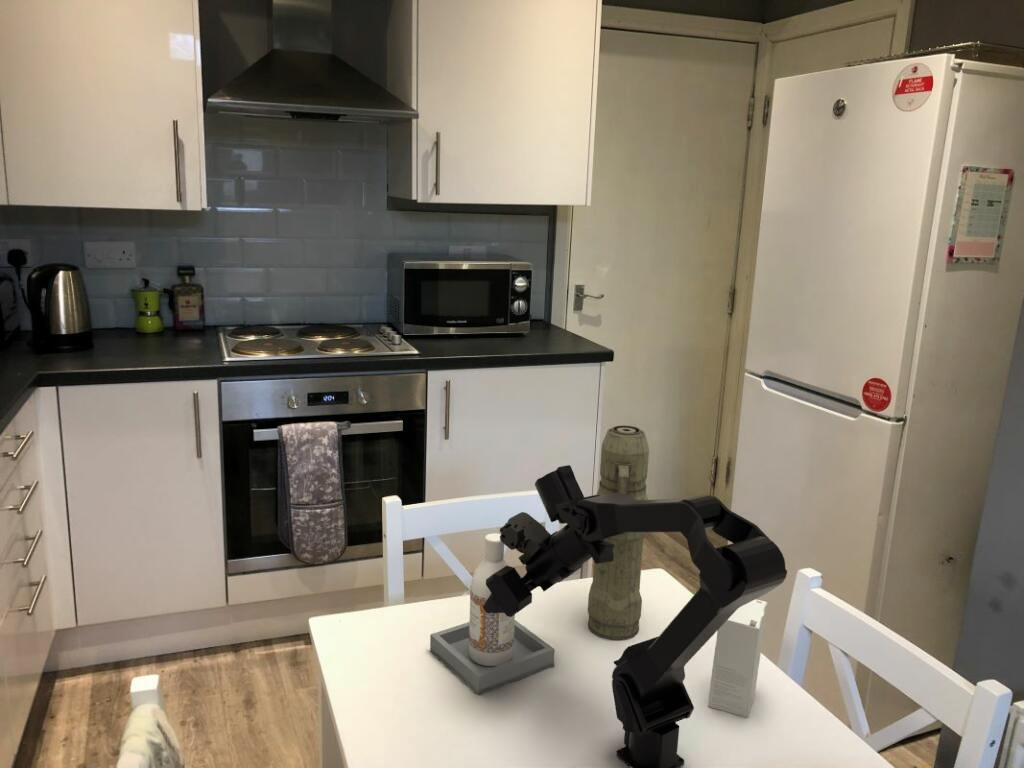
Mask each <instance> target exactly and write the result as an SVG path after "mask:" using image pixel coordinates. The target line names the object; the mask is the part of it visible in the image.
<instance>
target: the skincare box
mask: <svg viewBox="0 0 1024 768" xmlns="http://www.w3.org/2000/svg"><path fill="white" fill-rule="evenodd" d="M767 608H768V601H764V600H760V599H758V598H757V599H755V600H753V601H751V602H749V603H747V604H745V605H743V606H741V607H740V608H738V609H737V610H736V611H735V612H734V613H733V614H732V615H731V616H730V618H729V619H728V620H727V621H726V622H725V623H724V624H723V625H722V626H721V627H720V628H719V629H718V630H717V631H716V640H715V641H716V642H715V648H714V656H713V661H712V662H713V663H712V669H711V670H712V671H711V677H710V685H709V686H710V687H709V692H708V702H707V706H708V707H709V708H713V709H715V710H719V711H723V712H726V713H730V714H732V715H736V716H740V717H744V718H749V714H750V713H751V712H750V711H751V708H752V705H753V701H754V696H755V690H756V689H757V681H758V676H759V675H758V674H759V669H760V668H759V666H760V661H761V654H762V645H763V640H764V639H763V638H764V632H765V623H766V617H767V610H768V609H767Z"/></svg>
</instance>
